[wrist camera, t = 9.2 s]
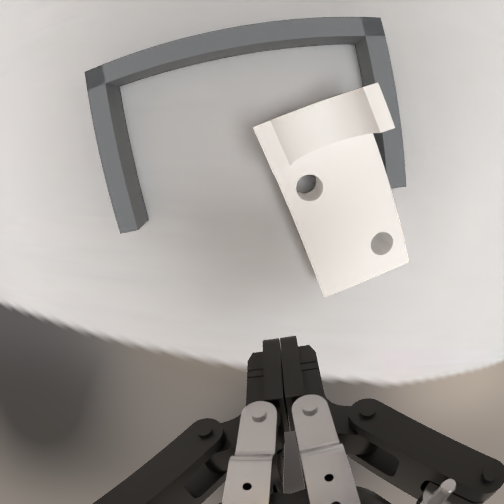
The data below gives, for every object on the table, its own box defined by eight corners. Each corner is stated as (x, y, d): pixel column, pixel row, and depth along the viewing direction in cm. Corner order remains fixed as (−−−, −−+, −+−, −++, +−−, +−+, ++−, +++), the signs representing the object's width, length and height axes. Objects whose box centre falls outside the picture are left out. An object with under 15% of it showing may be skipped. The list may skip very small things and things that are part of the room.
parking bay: (99, 75, 20) (84, 72, 18) (368, 26, 18) (380, 17, 16) (132, 223, 25) (120, 233, 22) (392, 180, 23) (406, 186, 21)
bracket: (253, 127, 22) (252, 127, 15) (341, 94, 21) (378, 82, 14) (316, 276, 27) (335, 329, 20) (392, 245, 25) (432, 287, 18)
